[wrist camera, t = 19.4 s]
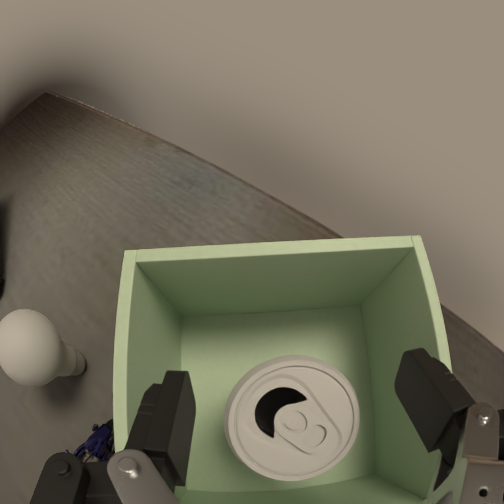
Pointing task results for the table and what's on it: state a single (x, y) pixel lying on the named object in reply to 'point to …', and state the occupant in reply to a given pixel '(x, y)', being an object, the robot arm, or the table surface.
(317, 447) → the beverage can
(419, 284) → the trash bin
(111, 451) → the toy car
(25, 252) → the table surface
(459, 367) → the table surface
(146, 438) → the robot arm
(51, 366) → the lightbulb
